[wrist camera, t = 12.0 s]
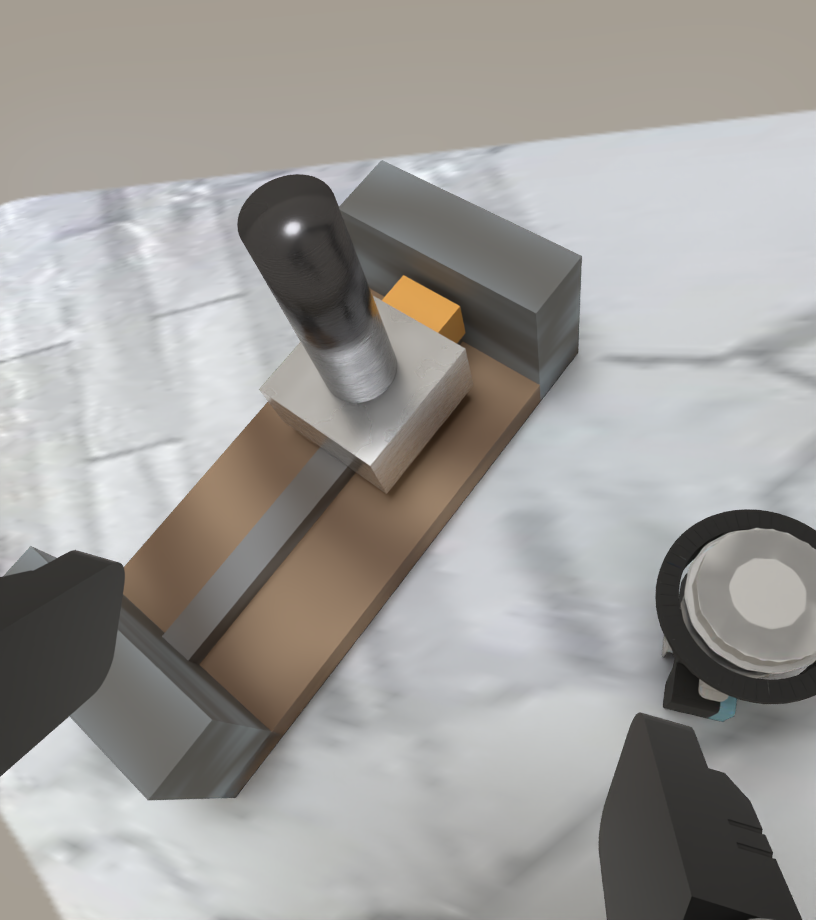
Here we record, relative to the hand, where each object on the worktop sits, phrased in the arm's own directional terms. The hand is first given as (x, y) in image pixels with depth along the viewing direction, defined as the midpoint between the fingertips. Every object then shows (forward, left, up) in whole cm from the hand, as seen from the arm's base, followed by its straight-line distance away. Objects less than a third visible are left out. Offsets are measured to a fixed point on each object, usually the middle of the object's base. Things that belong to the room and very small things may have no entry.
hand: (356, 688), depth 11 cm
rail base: (-5, -12, -19) cm, 23 cm away
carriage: (-9, -12, -17) cm, 22 cm away
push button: (-9, +4, -20) cm, 22 cm away
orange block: (-12, -12, -16) cm, 23 cm away
